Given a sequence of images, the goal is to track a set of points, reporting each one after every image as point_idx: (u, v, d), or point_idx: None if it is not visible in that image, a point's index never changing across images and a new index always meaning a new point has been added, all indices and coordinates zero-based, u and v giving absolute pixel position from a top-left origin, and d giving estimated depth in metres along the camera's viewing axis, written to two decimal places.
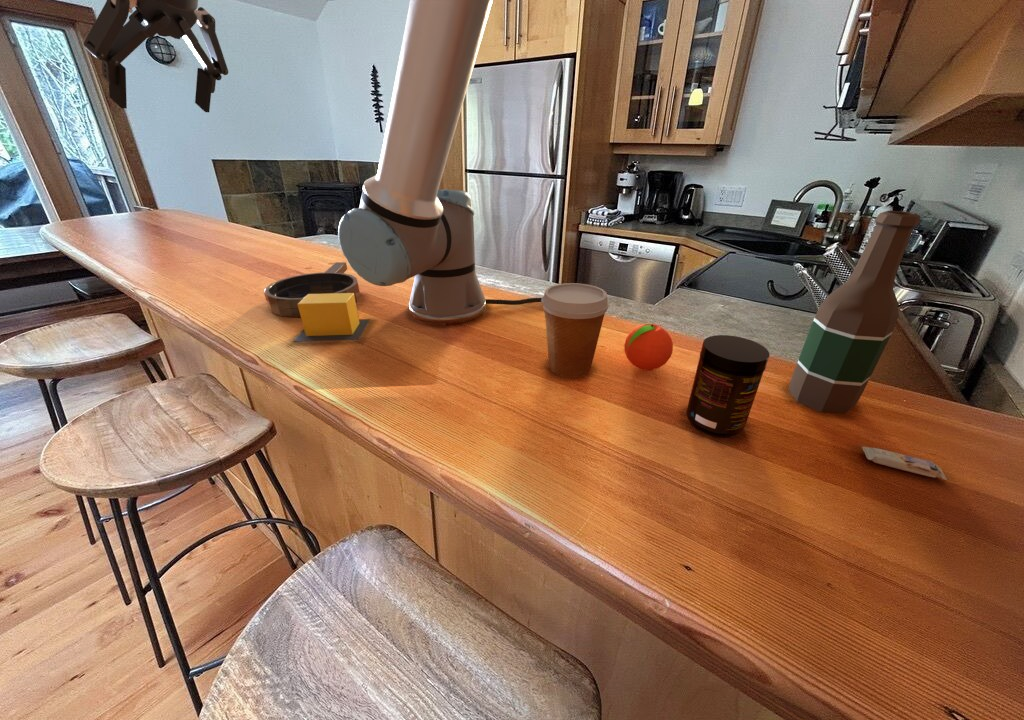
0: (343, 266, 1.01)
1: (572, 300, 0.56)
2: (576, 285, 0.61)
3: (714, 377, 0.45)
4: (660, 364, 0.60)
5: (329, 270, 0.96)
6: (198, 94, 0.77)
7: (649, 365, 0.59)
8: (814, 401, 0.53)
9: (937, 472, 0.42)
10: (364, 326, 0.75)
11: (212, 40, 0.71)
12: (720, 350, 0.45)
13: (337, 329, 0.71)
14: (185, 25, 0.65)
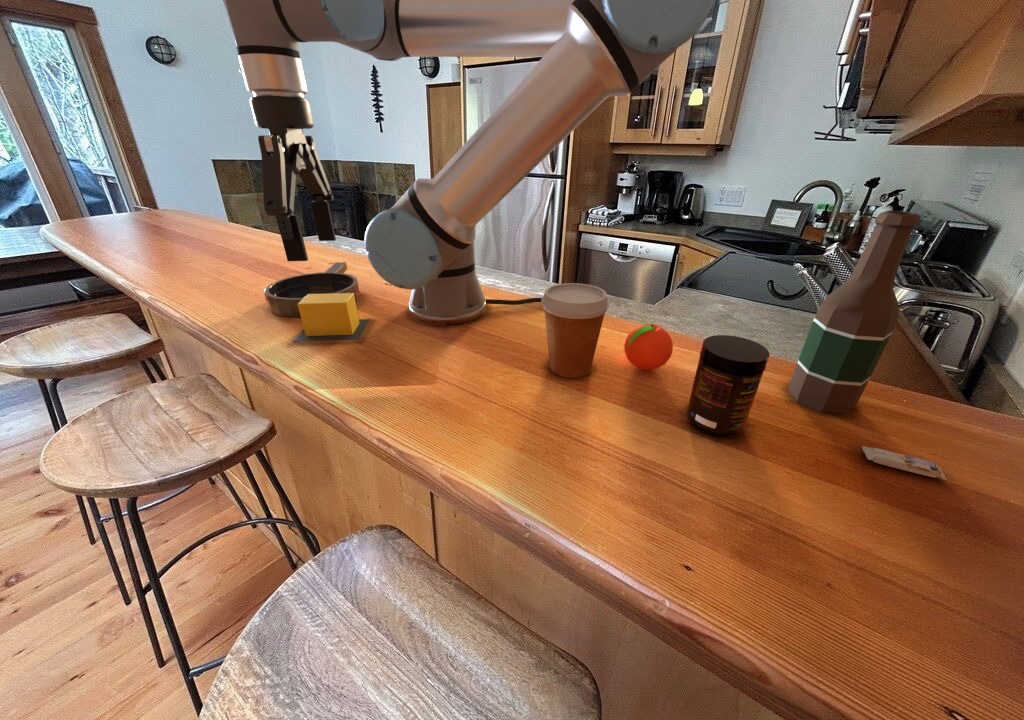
0: (343, 266, 1.01)
1: (572, 300, 0.56)
2: (576, 285, 0.61)
3: (714, 377, 0.45)
4: (660, 364, 0.60)
5: (329, 270, 0.96)
6: (320, 229, 0.72)
7: (649, 365, 0.59)
8: (814, 401, 0.53)
9: (937, 472, 0.42)
10: (364, 326, 0.75)
11: (317, 160, 0.67)
12: (720, 350, 0.45)
13: (337, 329, 0.71)
14: (308, 148, 0.62)
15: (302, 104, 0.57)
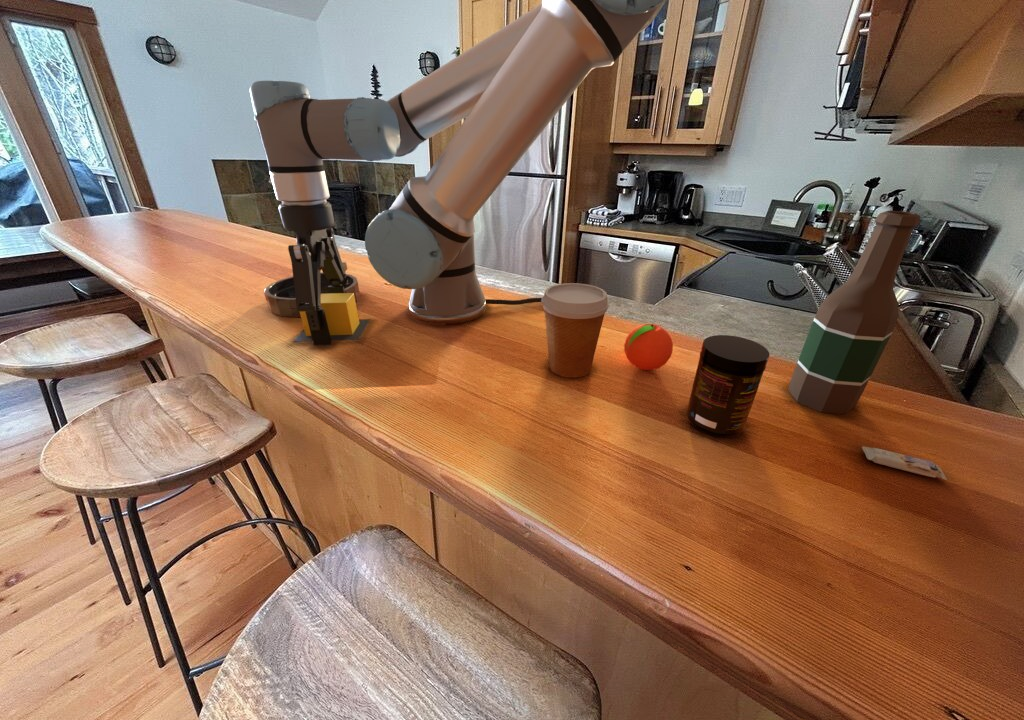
0: (343, 266, 1.01)
1: (572, 300, 0.56)
2: (576, 285, 0.61)
3: (714, 377, 0.45)
4: (660, 364, 0.60)
5: None
6: None
7: (649, 365, 0.59)
8: (814, 401, 0.53)
9: (937, 472, 0.42)
10: (364, 326, 0.75)
11: (335, 249, 0.73)
12: (720, 350, 0.45)
13: (337, 329, 0.71)
14: (329, 242, 0.68)
15: (325, 210, 0.63)
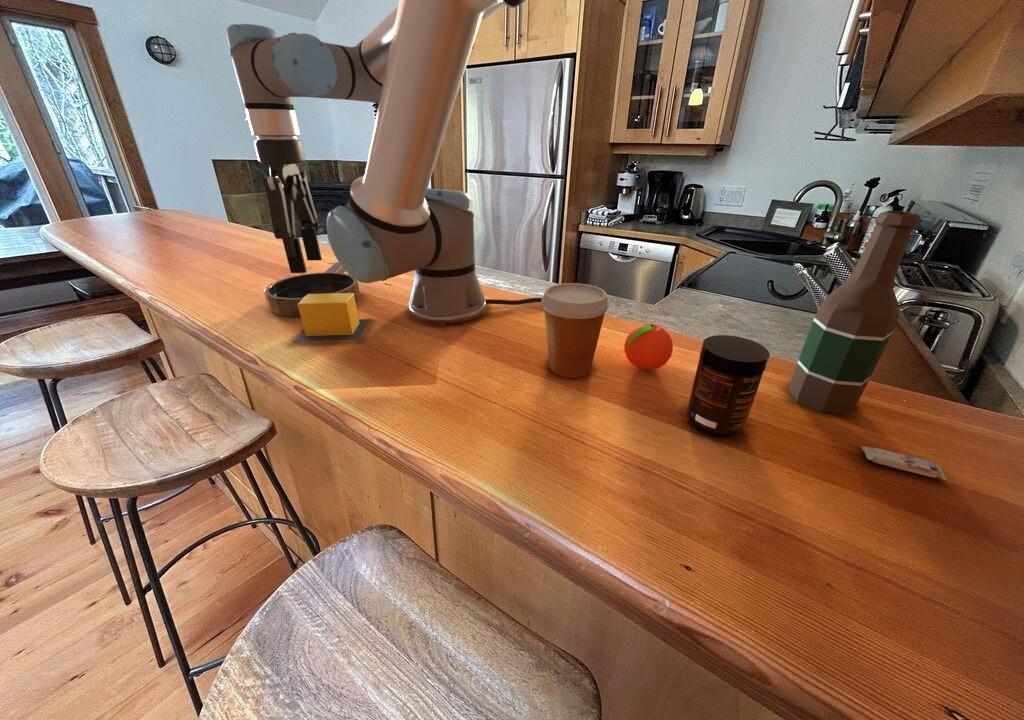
0: None
1: (572, 300, 0.56)
2: (576, 285, 0.61)
3: (714, 377, 0.45)
4: (660, 364, 0.60)
5: (329, 270, 0.96)
6: (308, 251, 0.86)
7: (649, 365, 0.59)
8: (814, 401, 0.53)
9: (937, 472, 0.42)
10: (364, 326, 0.75)
11: (308, 191, 0.82)
12: (720, 350, 0.45)
13: (337, 329, 0.71)
14: (300, 178, 0.77)
15: (295, 145, 0.72)
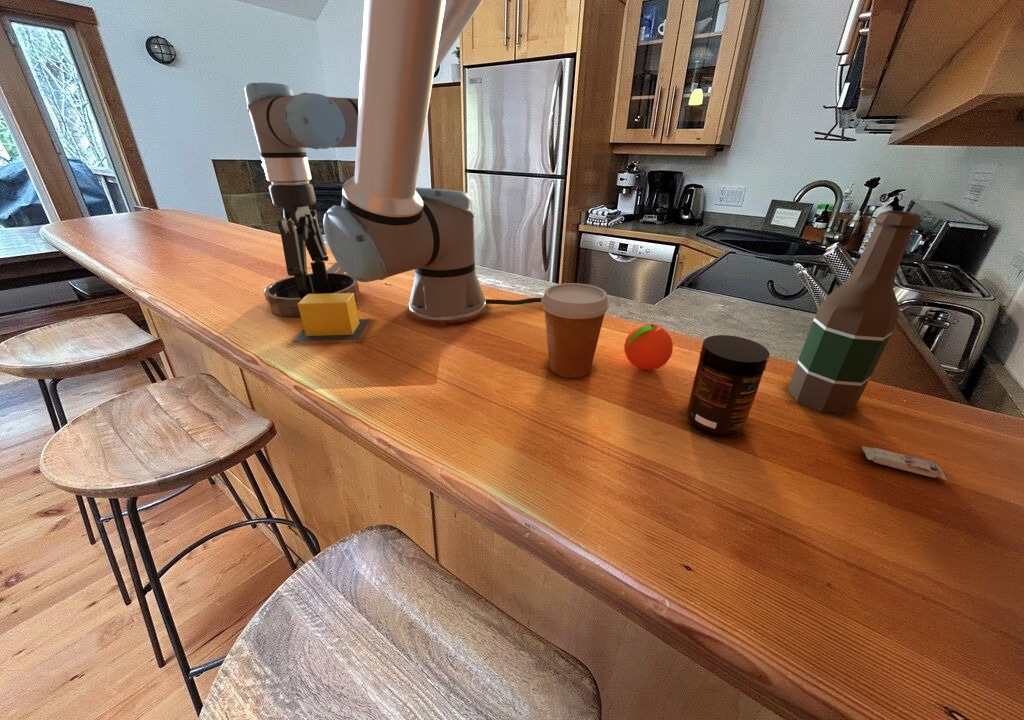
0: None
1: (572, 300, 0.56)
2: (576, 285, 0.61)
3: (714, 377, 0.45)
4: (660, 364, 0.60)
5: (329, 270, 0.96)
6: (318, 283, 0.90)
7: (649, 365, 0.59)
8: (814, 401, 0.53)
9: (937, 472, 0.42)
10: (364, 326, 0.75)
11: (318, 228, 0.86)
12: (720, 350, 0.45)
13: (337, 329, 0.71)
14: (311, 218, 0.81)
15: (308, 189, 0.76)
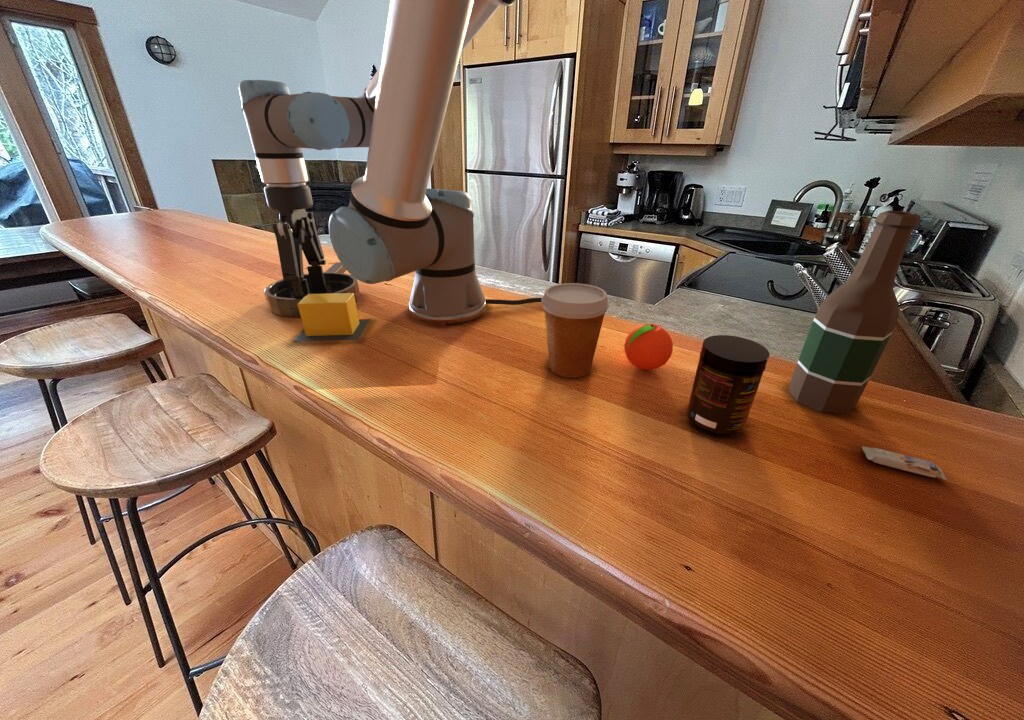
0: (343, 266, 1.01)
1: (572, 300, 0.56)
2: (576, 285, 0.61)
3: (714, 377, 0.45)
4: (660, 364, 0.60)
5: (329, 270, 0.96)
6: (315, 287, 0.87)
7: (649, 365, 0.59)
8: (814, 401, 0.53)
9: (937, 472, 0.42)
10: (364, 326, 0.75)
11: (315, 231, 0.83)
12: (720, 350, 0.45)
13: (337, 329, 0.71)
14: (308, 221, 0.78)
15: (304, 191, 0.73)
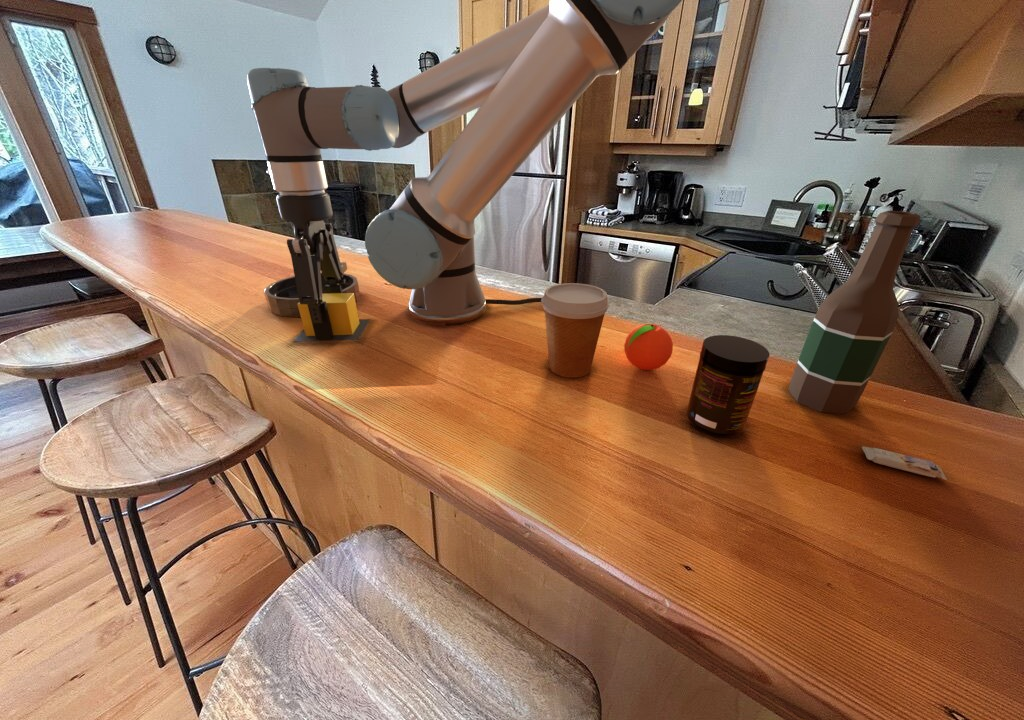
0: (343, 266, 1.01)
1: (572, 300, 0.56)
2: (576, 285, 0.61)
3: (714, 377, 0.45)
4: (660, 364, 0.60)
5: None
6: None
7: (649, 365, 0.59)
8: (814, 401, 0.53)
9: (937, 472, 0.42)
10: (364, 326, 0.75)
11: (333, 245, 0.73)
12: (720, 350, 0.45)
13: (337, 329, 0.71)
14: (327, 234, 0.68)
15: (323, 200, 0.63)
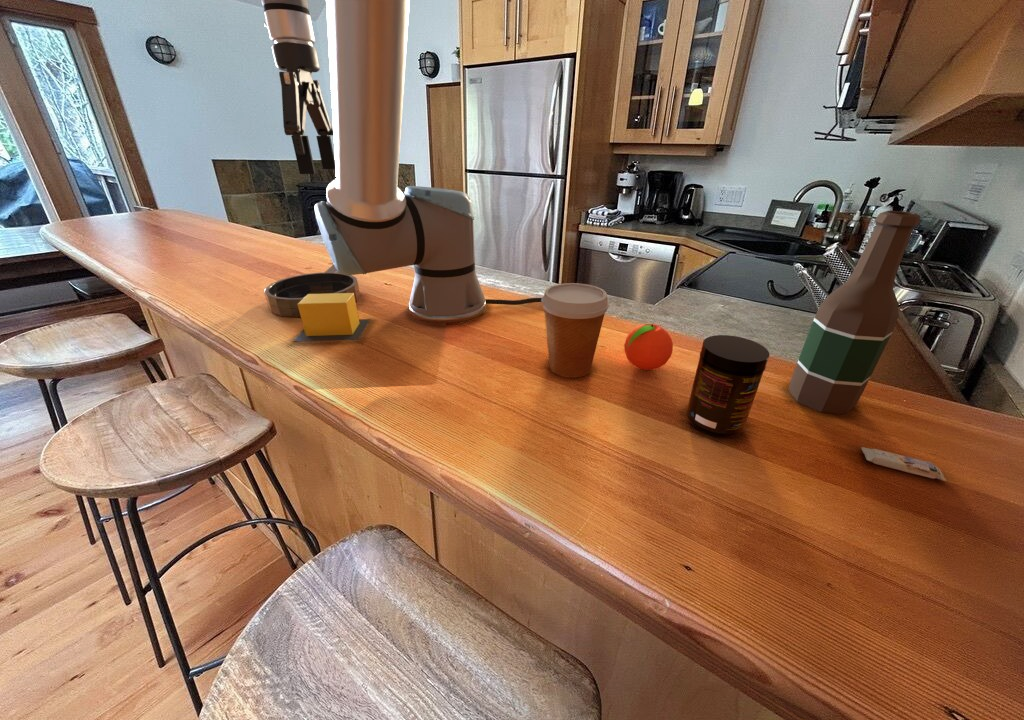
0: None
1: (572, 300, 0.56)
2: (576, 285, 0.61)
3: (714, 377, 0.45)
4: (660, 364, 0.60)
5: (329, 270, 0.96)
6: (324, 159, 0.90)
7: (649, 365, 0.59)
8: (814, 401, 0.53)
9: (936, 473, 0.42)
10: (364, 326, 0.75)
11: (322, 101, 0.85)
12: (720, 350, 0.45)
13: (337, 329, 0.71)
14: (315, 88, 0.80)
15: (311, 50, 0.75)
